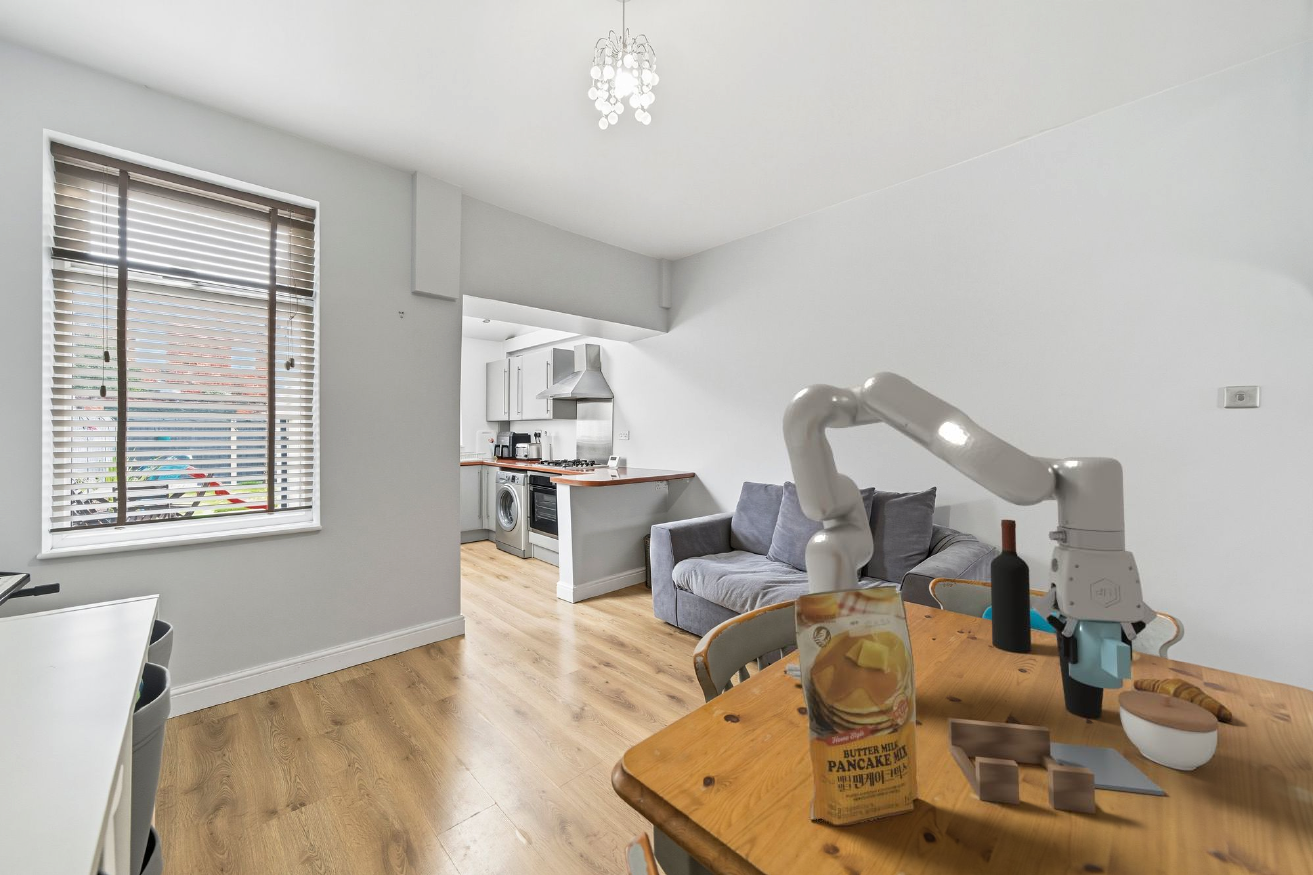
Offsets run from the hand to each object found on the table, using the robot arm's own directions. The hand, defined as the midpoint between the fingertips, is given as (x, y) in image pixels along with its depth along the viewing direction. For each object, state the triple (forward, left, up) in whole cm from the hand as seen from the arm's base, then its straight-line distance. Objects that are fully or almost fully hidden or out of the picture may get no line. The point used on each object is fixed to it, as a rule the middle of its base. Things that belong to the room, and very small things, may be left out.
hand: (1094, 661), depth 75 cm
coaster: (0, 0, -16) cm, 16 cm away
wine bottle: (+10, +49, -16) cm, 52 cm away
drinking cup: (+8, +18, -16) cm, 25 cm away
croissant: (+27, +24, -16) cm, 39 cm away
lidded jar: (+12, +5, -16) cm, 20 cm away
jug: (0, -2, -3) cm, 3 cm away
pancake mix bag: (-36, -15, -16) cm, 41 cm away
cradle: (-13, -5, -16) cm, 21 cm away
